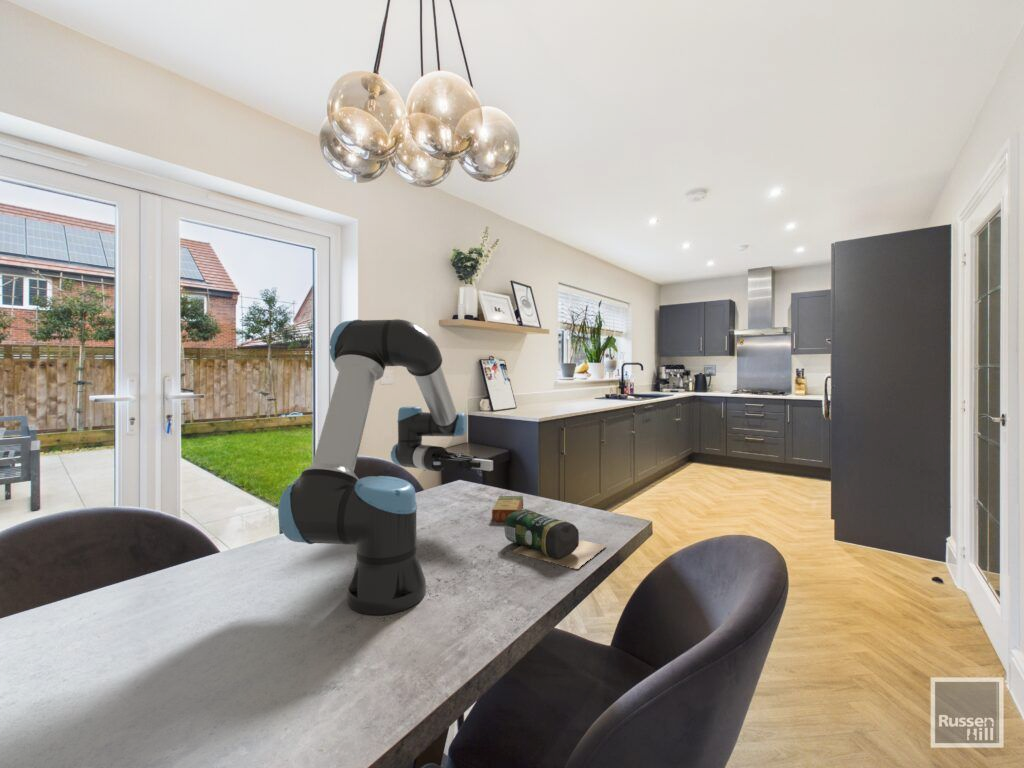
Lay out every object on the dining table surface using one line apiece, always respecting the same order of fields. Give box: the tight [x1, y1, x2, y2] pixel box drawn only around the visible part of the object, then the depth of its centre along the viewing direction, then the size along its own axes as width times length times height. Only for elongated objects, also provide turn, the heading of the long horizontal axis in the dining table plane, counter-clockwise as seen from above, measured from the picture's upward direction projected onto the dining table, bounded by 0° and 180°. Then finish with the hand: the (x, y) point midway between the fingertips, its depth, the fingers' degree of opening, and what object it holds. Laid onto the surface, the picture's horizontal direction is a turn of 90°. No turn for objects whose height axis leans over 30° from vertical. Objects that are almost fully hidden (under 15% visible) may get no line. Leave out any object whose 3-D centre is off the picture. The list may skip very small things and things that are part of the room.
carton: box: [491, 495, 524, 523], centre depth 142 cm, size 8×16×4 cm, turn 174°
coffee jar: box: [504, 508, 580, 559], centre depth 113 cm, size 10×8×19 cm
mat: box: [512, 539, 607, 569], centre depth 113 cm, size 18×16×1 cm
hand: (491, 465), depth 125 cm, fingers closed
